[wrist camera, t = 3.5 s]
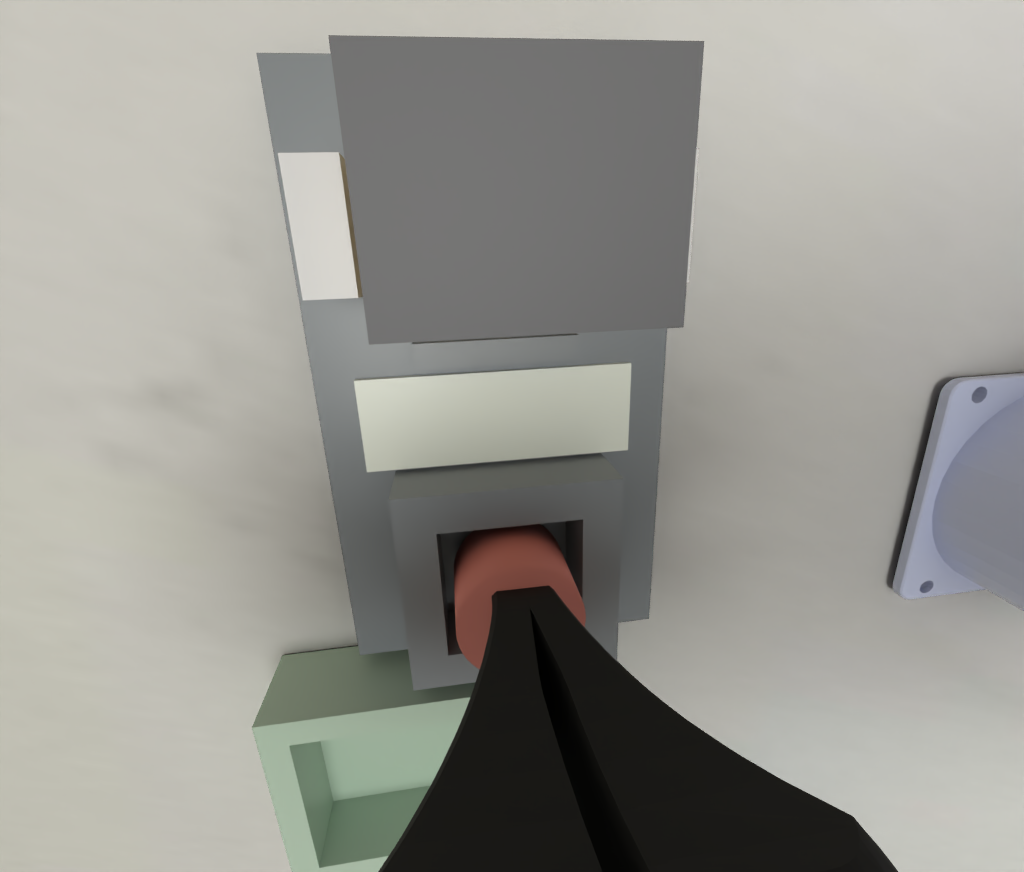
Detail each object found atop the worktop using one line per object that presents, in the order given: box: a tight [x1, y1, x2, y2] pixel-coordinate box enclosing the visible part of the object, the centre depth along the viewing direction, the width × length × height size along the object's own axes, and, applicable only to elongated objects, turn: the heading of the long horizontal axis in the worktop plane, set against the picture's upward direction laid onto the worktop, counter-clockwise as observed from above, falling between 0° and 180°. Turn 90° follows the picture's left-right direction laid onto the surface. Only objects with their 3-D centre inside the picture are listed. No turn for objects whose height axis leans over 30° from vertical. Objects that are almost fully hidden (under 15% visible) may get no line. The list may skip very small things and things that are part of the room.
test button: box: [454, 524, 586, 669], centre depth 12 cm, size 3×3×2 cm
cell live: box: [328, 35, 704, 345], centre depth 9 cm, size 4×4×6 cm
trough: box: [252, 646, 475, 872], centre depth 16 cm, size 9×7×3 cm
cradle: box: [257, 53, 699, 691], centre depth 12 cm, size 15×9×4 cm, turn 2°
